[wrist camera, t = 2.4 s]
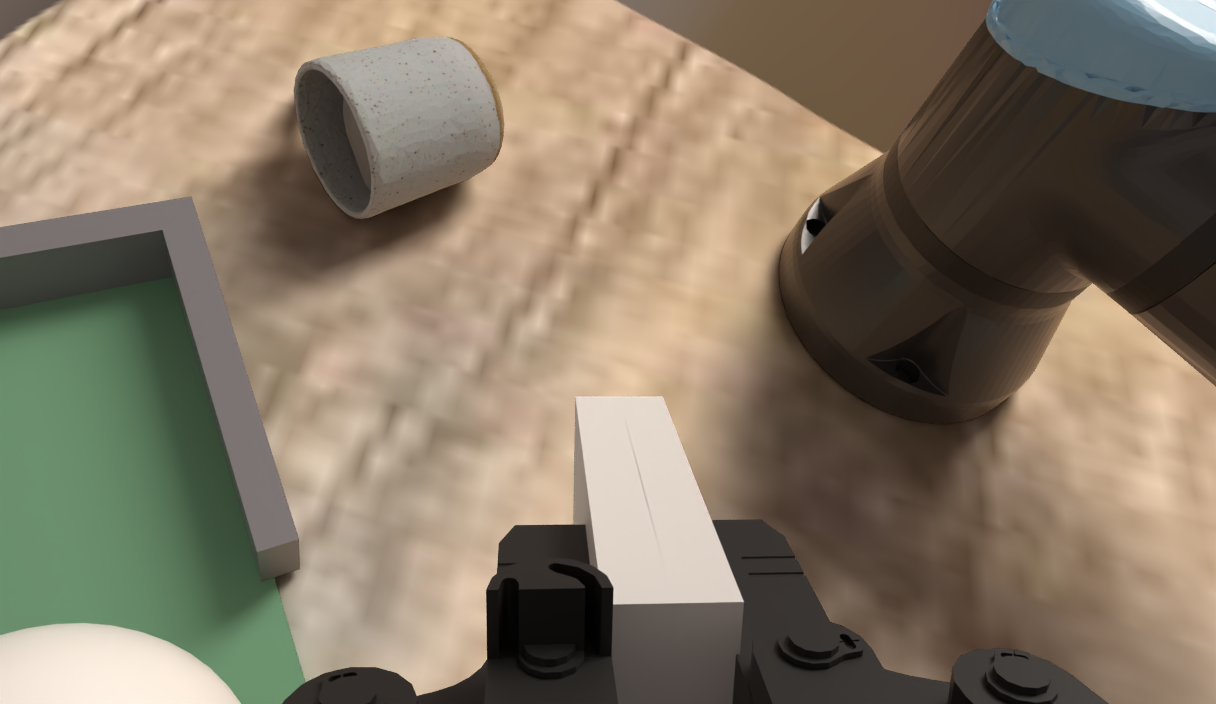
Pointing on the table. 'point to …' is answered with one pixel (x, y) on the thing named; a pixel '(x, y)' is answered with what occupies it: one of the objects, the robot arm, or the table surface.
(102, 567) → the green mat
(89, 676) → the ball
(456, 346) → the table surface
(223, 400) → the grey open tray
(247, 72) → the table surface
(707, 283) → the table surface
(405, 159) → the ceramic mug
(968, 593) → the table surface
